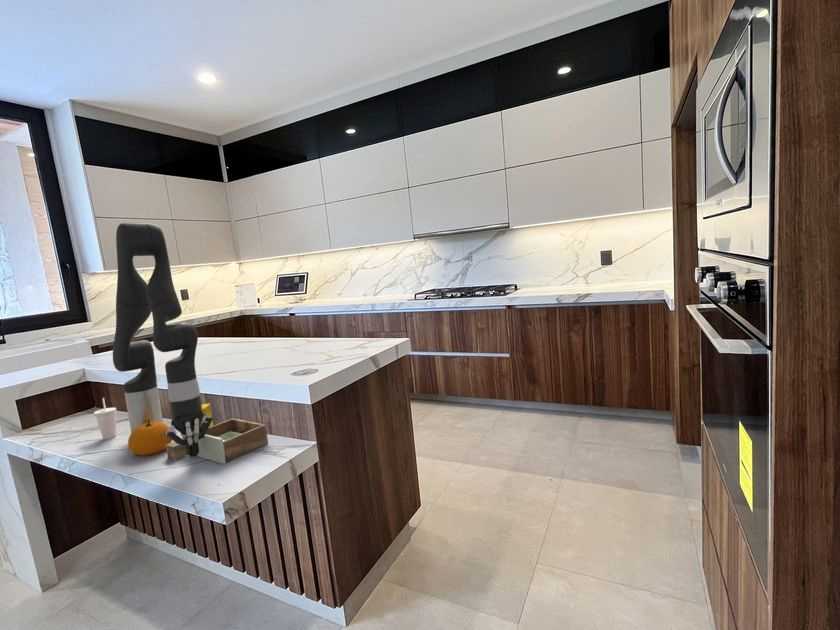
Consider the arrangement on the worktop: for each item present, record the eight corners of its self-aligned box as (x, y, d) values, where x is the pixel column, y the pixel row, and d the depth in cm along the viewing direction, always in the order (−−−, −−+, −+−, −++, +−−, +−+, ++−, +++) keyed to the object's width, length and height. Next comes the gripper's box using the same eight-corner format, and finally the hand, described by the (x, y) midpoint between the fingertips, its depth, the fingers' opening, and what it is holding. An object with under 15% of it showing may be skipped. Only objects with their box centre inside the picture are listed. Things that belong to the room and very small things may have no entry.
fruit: (157, 441, 139) (152, 412, 138) (183, 444, 135) (178, 414, 134) (121, 457, 128) (115, 425, 127) (147, 461, 124) (142, 428, 123)
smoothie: (121, 432, 152) (114, 394, 150) (120, 437, 147) (113, 398, 145) (99, 437, 149) (92, 398, 147) (97, 442, 143) (90, 402, 142)
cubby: (194, 453, 127) (191, 433, 126) (235, 435, 138) (232, 418, 137) (227, 462, 118) (224, 442, 117) (268, 443, 129) (265, 424, 128)
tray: (189, 453, 126) (186, 431, 125) (228, 437, 136) (225, 416, 135) (223, 463, 116) (219, 439, 116) (262, 445, 127) (259, 423, 126)
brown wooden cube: (167, 457, 125) (165, 445, 124) (181, 452, 128) (179, 439, 128) (175, 460, 123) (173, 447, 122) (188, 454, 126) (186, 441, 125)
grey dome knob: (226, 442, 129) (224, 435, 129) (237, 445, 126) (236, 437, 126) (207, 450, 124) (206, 442, 124) (219, 453, 121) (217, 445, 121)
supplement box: (189, 444, 134) (184, 411, 133) (195, 437, 140) (191, 405, 139) (209, 441, 135) (204, 408, 134) (214, 434, 141) (210, 402, 140)
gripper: (200, 388, 124) (208, 444, 126) (152, 402, 113) (161, 463, 115) (215, 390, 120) (223, 448, 122) (166, 405, 109) (176, 469, 111)
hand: (193, 456), depth 118 cm, fingers closed
